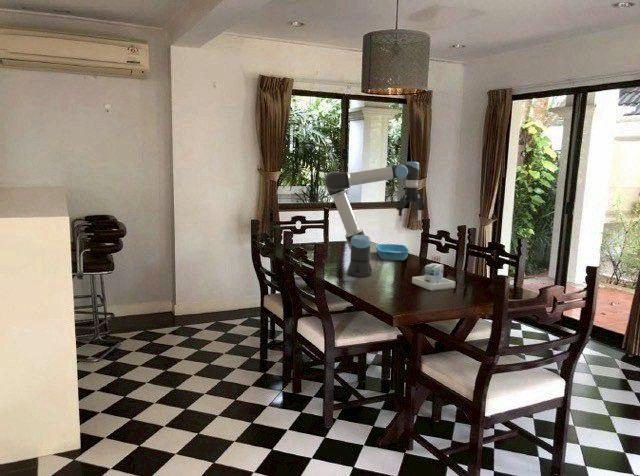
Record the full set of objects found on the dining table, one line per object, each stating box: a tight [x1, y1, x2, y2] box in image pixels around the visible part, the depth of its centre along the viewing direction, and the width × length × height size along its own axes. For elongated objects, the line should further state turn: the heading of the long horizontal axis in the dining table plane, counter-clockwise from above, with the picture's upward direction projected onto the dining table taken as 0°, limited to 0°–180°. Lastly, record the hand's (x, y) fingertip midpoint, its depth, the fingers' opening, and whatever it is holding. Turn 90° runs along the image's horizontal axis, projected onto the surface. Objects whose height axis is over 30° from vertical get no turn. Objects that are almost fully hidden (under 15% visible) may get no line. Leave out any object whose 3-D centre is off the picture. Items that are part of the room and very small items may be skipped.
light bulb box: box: [424, 262, 444, 284], centre depth 283 cm, size 11×7×11 cm, turn 142°
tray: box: [411, 275, 456, 292], centre depth 284 cm, size 16×18×4 cm
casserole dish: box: [375, 243, 410, 261], centre depth 363 cm, size 37×22×7 cm, turn 179°
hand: (410, 220), depth 316 cm, fingers open, 13 cm apart
